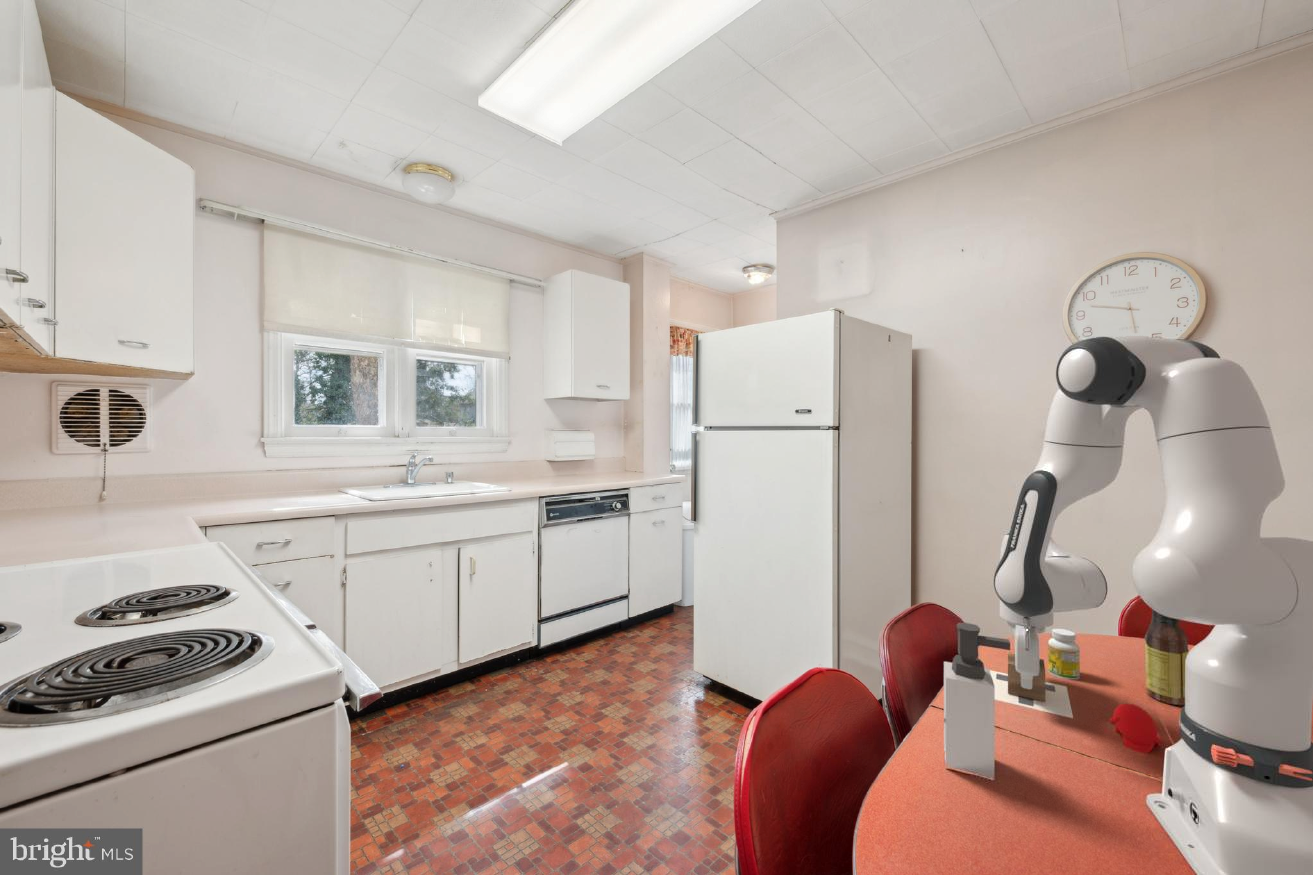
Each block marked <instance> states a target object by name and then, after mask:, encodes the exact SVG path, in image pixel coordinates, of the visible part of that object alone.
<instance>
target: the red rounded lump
mask: <svg viewBox="0 0 1313 875" xmlns="http://www.w3.org/2000/svg"><path fill="white" fill-rule="evenodd" d="M1109 722H1110V723H1111V724H1113V725H1114V726H1115V729H1114V732H1115V734H1121V735H1122V736H1121V737H1122V742H1123V744H1124V746H1125V747H1126V748H1128V749H1130V750H1133V751H1135V752H1139V753H1142V754H1149V753H1151V751H1152V750H1153V749H1154V747H1155V746H1162V745H1163V743H1164V741H1163V739H1162V738H1160V734H1159V732H1158V728H1157V725H1156V722H1155V721H1154V719H1153V718H1152V716H1151V715H1150V714H1149V713H1148V712H1147V711H1146V710H1144V709H1143V708H1142V707H1140V706H1138V705H1135V704H1132V703H1122V704H1119V705H1118V706H1116V707H1115V709H1114V711H1113V716H1112V717H1110V718H1109Z"/></svg>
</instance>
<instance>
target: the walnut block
mask: <svg viewBox="0 0 1313 875" xmlns="http://www.w3.org/2000/svg"><path fill="white" fill-rule="evenodd" d="M1045 665H1046V664H1045V660H1044V659H1041V658H1039V675H1038V676H1033V680H1032V689H1026V688H1023V687H1022V686H1021V675H1020V673H1019V672H1017V671H1016V668H1015V653H1012V652H1011V653H1010V652H1008V653H1007V674H1008V694H1012V695H1017V696H1021V697H1026V698H1030V699H1035V700H1039V701H1043V702H1045V682H1046V666H1045Z"/></svg>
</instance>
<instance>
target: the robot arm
mask: <svg viewBox="0 0 1313 875" xmlns="http://www.w3.org/2000/svg"><path fill="white" fill-rule="evenodd" d="M1055 369H1056V370H1055V380H1056V383H1057V385H1058V388H1059V389H1058V390H1057V391H1056V392H1055V394H1054V396H1053V399H1052V402H1051V404H1050V405H1051V406H1050V408H1049V412H1048V415H1047V419H1046V424H1045V429H1044V436H1043V437H1044V438H1043V445H1042V446H1043V447H1042V450H1041V454H1040V456H1039V459H1038V461H1037V464H1036V466H1035V468H1034V470H1033V471H1032V472H1031V473H1030V475H1028V476H1027V477H1026V479H1025V480H1024V481H1023V482H1024V483H1023V485H1022V487H1021V490H1020V492H1019V495H1018V499H1017V503H1016V507H1015V510H1014V514H1013V518H1012V522H1011V526H1010V530H1009V532H1008V533H1007V534H1005V535H1004V536H1003V538H1002V540H1001V546H1000V553H999V563H998V565H997V567H996V569H995V571H994V576H993V587H994V592H995V593H996V595H997V597H998V599H999V616H1000V617H1001V618H1002V619H1003V620H1005V621H1006V625H1007V627H1009V628H1011V629H1013V635H1014V654H1015V668H1016V671H1017V672H1019V673H1020V675H1021V686H1022V687H1023V688H1026V689H1032V680H1033V676H1038V675H1039V659H1040V635H1039V634H1043V633H1045V632H1046V628H1049V627H1052V626H1053V625H1054V620H1055V619H1054V618H1055V617H1054V614H1056V613H1067V612H1074V611H1082V610H1083V611H1085V610H1090V609H1095V608H1099V607H1100V606H1102V605H1103V603H1104V602H1105V601H1106V598H1107V595H1108V583H1107V580H1106V577H1105V575H1104V573H1103V570H1102V569H1101V568H1100V567H1098V565H1096V564H1095V563H1094V562H1093V561H1092V560H1089V559H1088V558H1084V557H1081V556H1078V555H1076V554H1074V553H1072V552H1070V551H1068V550H1067V549H1065V548H1064V547H1062V546H1061V545H1059V544H1058V543H1057V542H1056V541H1055V540H1054V539H1053V537H1052V533H1053V530H1054V525H1055V522H1056V520H1057V519H1058V518H1059V515H1060V514H1061V513H1062V512H1064V510H1066V509H1067V508H1068V507H1069V506H1071V505H1073V504H1074V503H1077V502H1078V501H1081V500H1082V499H1085V498H1086V497H1088V496H1091V495H1094V494H1096V493H1099V492H1100V491H1102V490H1104V489H1105V488H1107V487H1108V486H1110V485H1111V484H1112V483H1113V482H1114V481H1115V480H1116V478H1117V476H1118V474H1119V471H1120V470H1121V466H1122V461H1123V453H1124V445H1125V436H1126V435H1125V432H1126V425H1127V421H1128V420H1129V418H1130V417H1131V415H1132V414H1133V413H1135V412H1136V411H1138V410H1141V409H1145V410H1147V411H1148V413H1149V414H1150V415H1149V416H1150V417H1151V420H1152V423H1153V427H1154V428H1153V430H1154V433H1155V434H1154V435H1155V441H1156V444H1157V449H1158V454H1159V459H1160V464H1161V469H1162V475H1163V480H1164V482H1163V483H1164V488H1165V503H1164V509H1163V515H1162V519H1161V522H1160V525H1159V527H1158V529H1157V532H1156V534H1155V535H1154V537H1153V539H1152V540H1151V541H1150V542H1149V543H1148V544H1147V545H1146V546H1145V547H1144V548H1143V549H1141V551H1139V552H1138V553H1137V555H1136V556H1135V558H1134V560H1133V563H1132V569H1131V577H1132V582H1133V583H1132V584H1133V585H1134V588H1135V590H1136V592H1137V594H1138V595H1139V597H1140V598H1141V599H1142V600H1143V602H1144V603H1145V604H1146V605H1147V606H1148V607H1149V608H1150V609H1151V610H1152V609H1153V610H1155V611H1156V612H1158V613H1159V614H1161V615H1164V616H1166V617H1170V618H1174V619H1179V621H1185V622H1190V623H1196V624H1200V625H1201V624H1202V625H1208V626H1214V627H1213V629H1212V630H1211V631H1210V633H1208V635H1207V636H1206V637H1205V638H1204V639H1202V640H1201V641H1200V642H1199V643H1197V644H1196V645H1194V646H1193V647H1192V648H1190V650H1189V653H1188V655H1187V657H1186V661H1185V705H1183V707H1182V708H1181V709H1180V715H1179V719H1178V725H1179V735H1180V739H1179V740H1178V741H1177V742H1176V743H1174V744H1173V745H1171V746H1169V747H1167V748H1165V750H1164V760H1163V762H1164V763H1163V774H1162V789H1161V793H1149V794H1147V796H1146V799H1145V800H1146V801H1145V804H1146V805H1147V807H1148V809H1150V811H1151V812H1152V814H1153V815H1154V816H1155V818H1156V819H1157V820H1158V822H1159V824H1160V826H1162V827H1163V829H1164V831H1165V832H1166V834H1168V837H1169V838H1170V839H1171V840H1172V841H1173V843H1174V845H1175V846H1176V847H1177V849H1178V850H1179V852H1180V853H1181V854H1182V856H1183V857H1184V858H1185V860H1186V861H1187V863H1188V864H1189V865H1190V867H1191V869H1192V870H1193V871H1194V872H1195V874H1196V875H1313V741H1312V739H1311V738H1312V719H1313V718H1312V717H1313V541H1312V540H1309V539H1308V540H1307V539H1301V538H1294V537H1287V536H1286V537H1281V536H1280V537H1277V536H1276V537H1261V530H1262V529H1261V528H1262V520H1263V517H1264V514H1265V511H1266V509H1267V508H1268V506H1269V505H1270V504H1271V503H1272V502H1274V501H1275V500H1276V499H1277V498H1279V497H1280V496H1281V494H1283V492H1284V489H1285V487H1286V480H1285V476H1284V473H1283V468H1282V465H1281V461H1280V457H1279V454H1278V450H1277V446H1276V443H1275V439H1274V436H1273V432H1272V429H1271V425H1270V421H1269V418H1268V416H1267V413H1266V409H1265V406H1264V404H1263V402H1262V400H1261V398H1260V396H1259V394H1258V391H1257V389H1256V387H1255V385H1254V383H1253V381H1252V380H1251V378H1250V376H1249V375H1248V374H1247V372H1246V370H1245V369H1244V368H1243V367H1242V366H1241V365H1240V364H1239V363H1237V362H1235V361H1232V360H1230V359H1226V358H1222V357H1221V356H1220V355H1219V353H1218V352H1217V351H1216V350H1214V348H1212V347H1210V346H1208V345H1207V344H1204V343H1201V342H1198V341H1195V340H1191V339H1186V338H1177V339H1176V338H1175V339H1172V338H1163V337H1152V336H1151V337H1150V336H1146V335H1145V336H1144V335H1130V336H1129V335H1127V336H1112V337H1110V336H1109V337H1108V336H1096V337H1090V338H1086V339H1082V340H1079V341H1077V342H1074V343H1072V344H1071V345H1069V346H1068V347H1067V348H1066V349H1065V350H1064V351H1063V352H1062V353H1061V355H1060V357H1059V359H1058V361H1057V365H1056V368H1055Z"/></svg>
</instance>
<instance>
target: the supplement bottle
mask: <svg viewBox="0 0 1313 875" xmlns="http://www.w3.org/2000/svg"><path fill="white" fill-rule="evenodd" d="M1051 635H1052V637H1051V638H1050V639H1048V644H1047V647H1048V648H1047V651H1048V652H1047V653H1048V657H1047V658H1048V660H1047V661H1048V662H1047V663H1048V664H1047V666H1048V667H1047V669H1048V670H1047V671H1048V673H1050V674H1051V675H1053V676H1056V677H1058V678H1061V679H1066V680H1078V679H1080V677H1081V676H1080V675H1081V674H1080V672H1081V671H1080V670H1081V669H1080V668H1081V667H1080V665H1081V664H1080V663H1081V660H1080V659H1081V658H1080V654H1081V653H1080V652H1081V651H1080V645H1079V644H1078V643H1077V642H1075V641H1076V638H1077V637H1076V636H1077V635H1076V633H1075V632H1074V631H1072V630H1068V629H1064V628H1052V630H1051Z"/></svg>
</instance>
